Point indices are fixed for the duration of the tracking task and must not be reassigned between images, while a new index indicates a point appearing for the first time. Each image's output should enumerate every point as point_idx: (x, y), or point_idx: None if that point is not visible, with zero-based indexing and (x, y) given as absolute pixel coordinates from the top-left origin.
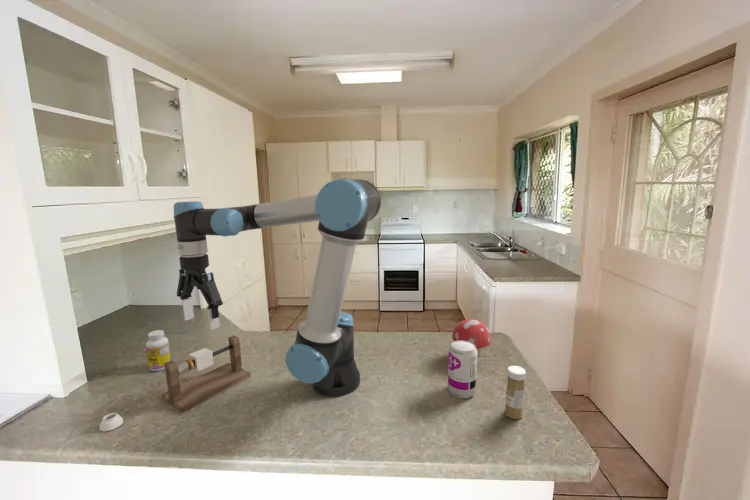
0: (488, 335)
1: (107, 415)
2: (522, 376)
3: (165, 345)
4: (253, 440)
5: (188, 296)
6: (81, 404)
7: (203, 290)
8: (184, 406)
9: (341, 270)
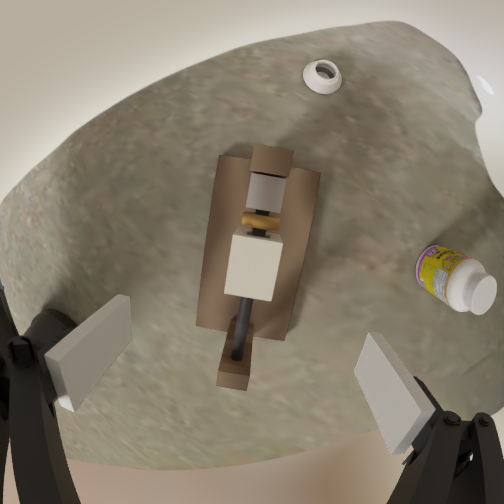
0: None
1: (336, 71)
2: None
3: (445, 290)
4: (60, 174)
5: (415, 454)
6: (437, 112)
7: (16, 483)
8: (220, 160)
9: None
